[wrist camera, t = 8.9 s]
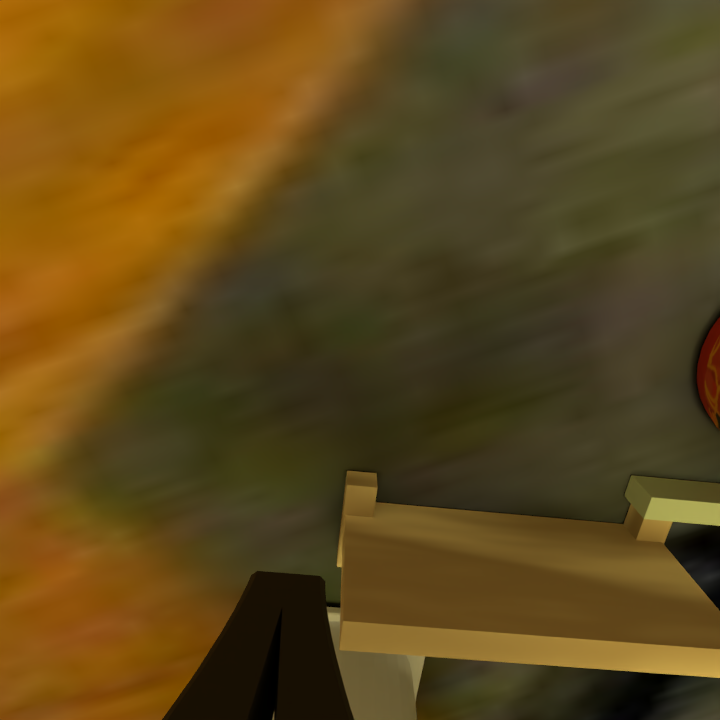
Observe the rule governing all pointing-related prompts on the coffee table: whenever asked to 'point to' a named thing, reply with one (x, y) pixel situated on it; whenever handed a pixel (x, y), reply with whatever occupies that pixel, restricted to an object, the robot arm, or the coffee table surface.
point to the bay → (675, 500)
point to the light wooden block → (518, 589)
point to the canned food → (710, 374)
